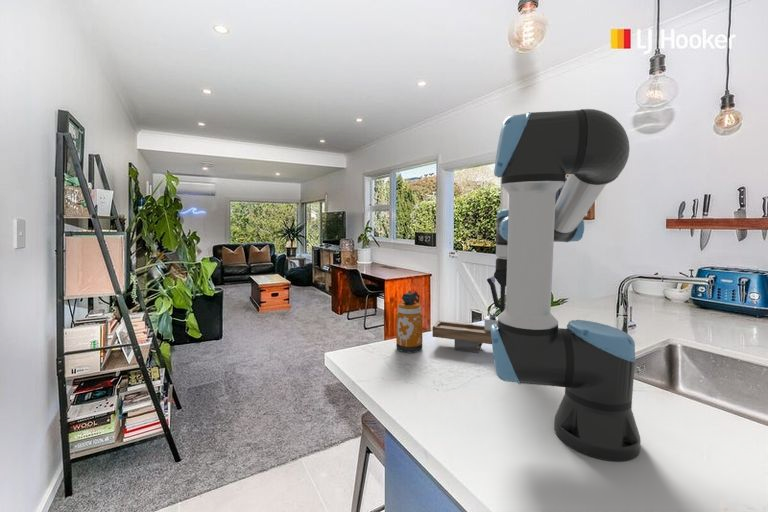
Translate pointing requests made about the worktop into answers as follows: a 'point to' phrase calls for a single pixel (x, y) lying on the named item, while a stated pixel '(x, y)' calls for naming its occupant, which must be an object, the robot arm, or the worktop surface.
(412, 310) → the canister
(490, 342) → the beam
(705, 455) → the worktop surface
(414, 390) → the worktop surface
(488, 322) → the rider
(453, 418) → the worktop surface
